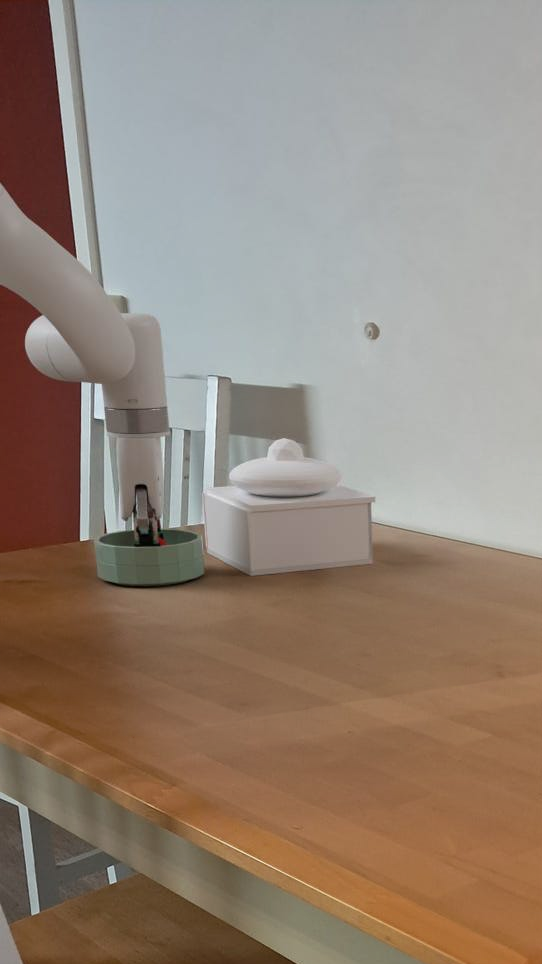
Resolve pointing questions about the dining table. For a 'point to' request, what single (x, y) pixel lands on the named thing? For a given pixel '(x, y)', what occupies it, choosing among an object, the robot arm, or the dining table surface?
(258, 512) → the white lidded box
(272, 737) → the dining table surface
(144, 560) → the dessert bowl
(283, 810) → the dining table surface
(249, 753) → the dining table surface
